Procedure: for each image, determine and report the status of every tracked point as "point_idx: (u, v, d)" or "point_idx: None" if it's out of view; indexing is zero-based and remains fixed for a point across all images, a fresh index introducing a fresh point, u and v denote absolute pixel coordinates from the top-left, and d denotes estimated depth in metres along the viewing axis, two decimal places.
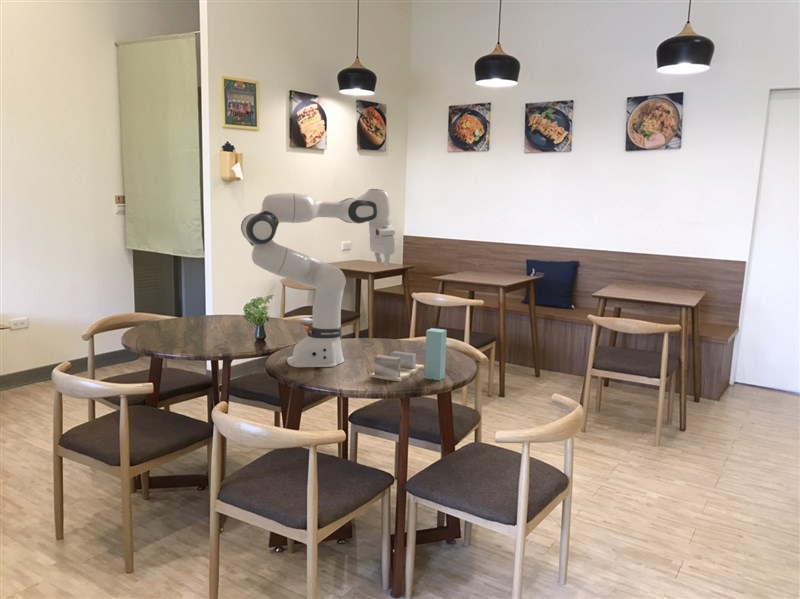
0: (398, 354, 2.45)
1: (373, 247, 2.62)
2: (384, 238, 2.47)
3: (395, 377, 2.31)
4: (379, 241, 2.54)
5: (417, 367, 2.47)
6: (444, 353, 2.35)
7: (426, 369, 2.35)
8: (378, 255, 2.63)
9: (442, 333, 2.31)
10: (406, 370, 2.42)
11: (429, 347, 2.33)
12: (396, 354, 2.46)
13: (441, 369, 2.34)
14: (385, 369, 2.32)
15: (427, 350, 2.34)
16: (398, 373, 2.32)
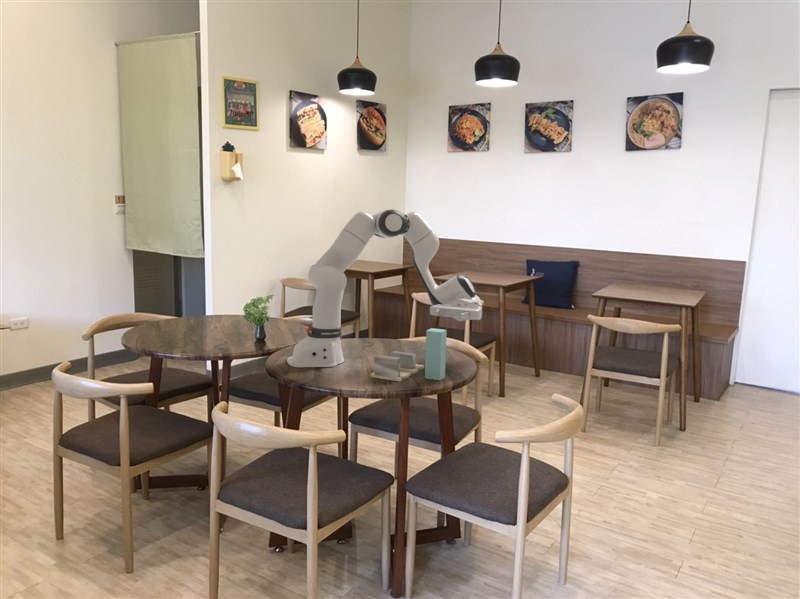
0: (398, 354, 2.45)
1: (441, 306, 2.52)
2: None
3: (395, 377, 2.31)
4: (463, 308, 2.51)
5: (417, 367, 2.47)
6: (444, 353, 2.35)
7: (426, 369, 2.35)
8: None
9: (442, 333, 2.31)
10: (406, 370, 2.42)
11: (429, 347, 2.33)
12: (396, 354, 2.46)
13: (441, 369, 2.34)
14: (385, 369, 2.32)
15: (427, 349, 2.34)
16: (398, 373, 2.32)
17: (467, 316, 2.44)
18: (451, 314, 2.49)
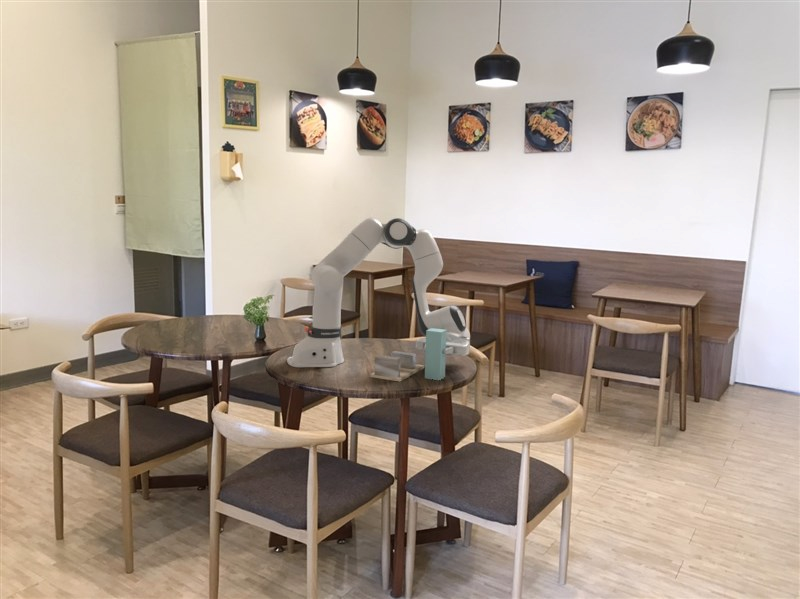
0: (398, 354, 2.45)
1: None
2: None
3: (395, 377, 2.31)
4: (450, 342, 2.41)
5: (417, 367, 2.47)
6: None
7: (426, 369, 2.35)
8: None
9: (442, 333, 2.31)
10: (406, 370, 2.42)
11: (429, 347, 2.33)
12: (396, 354, 2.46)
13: (441, 369, 2.34)
14: (385, 369, 2.32)
15: (427, 349, 2.34)
16: (398, 373, 2.32)
17: (451, 351, 2.35)
18: None
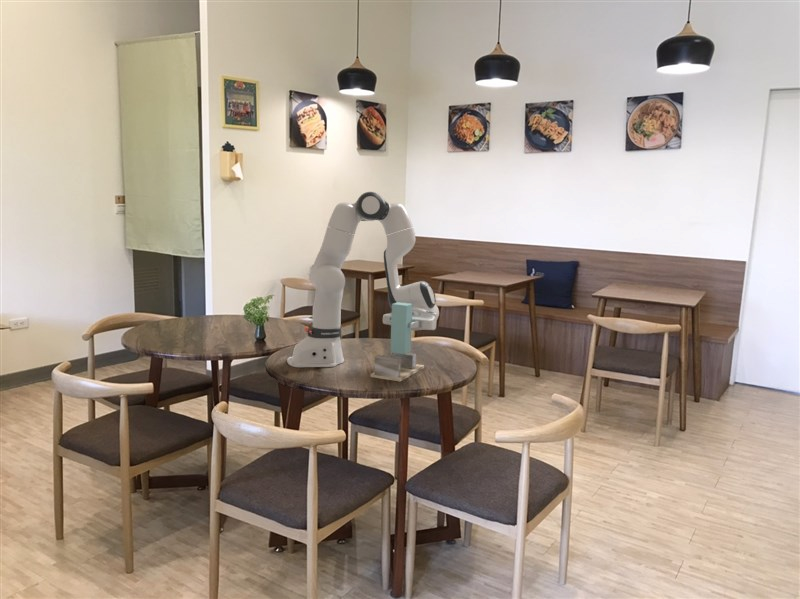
0: (398, 354, 2.45)
1: None
2: None
3: (395, 377, 2.31)
4: (416, 317, 2.42)
5: (417, 367, 2.47)
6: None
7: (392, 343, 2.35)
8: None
9: (408, 306, 2.32)
10: (406, 370, 2.42)
11: (394, 321, 2.33)
12: (396, 354, 2.46)
13: (406, 343, 2.34)
14: (385, 369, 2.32)
15: (393, 323, 2.34)
16: (398, 373, 2.32)
17: (417, 325, 2.35)
18: None
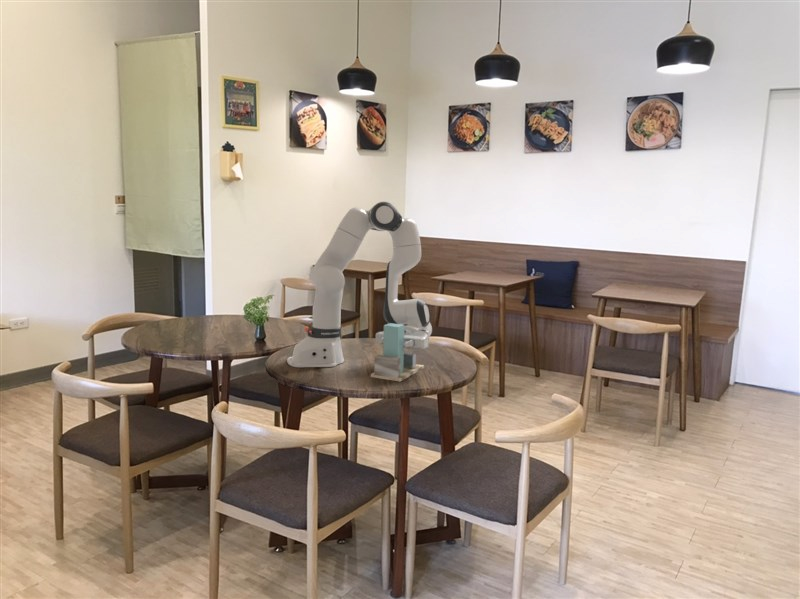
0: None
1: None
2: None
3: (395, 377, 2.31)
4: (409, 335, 2.43)
5: (417, 367, 2.47)
6: (402, 348, 2.38)
7: None
8: None
9: (399, 328, 2.34)
10: (406, 370, 2.42)
11: (386, 342, 2.35)
12: None
13: None
14: (385, 369, 2.32)
15: (385, 344, 2.36)
16: (398, 373, 2.32)
17: (411, 344, 2.37)
18: None
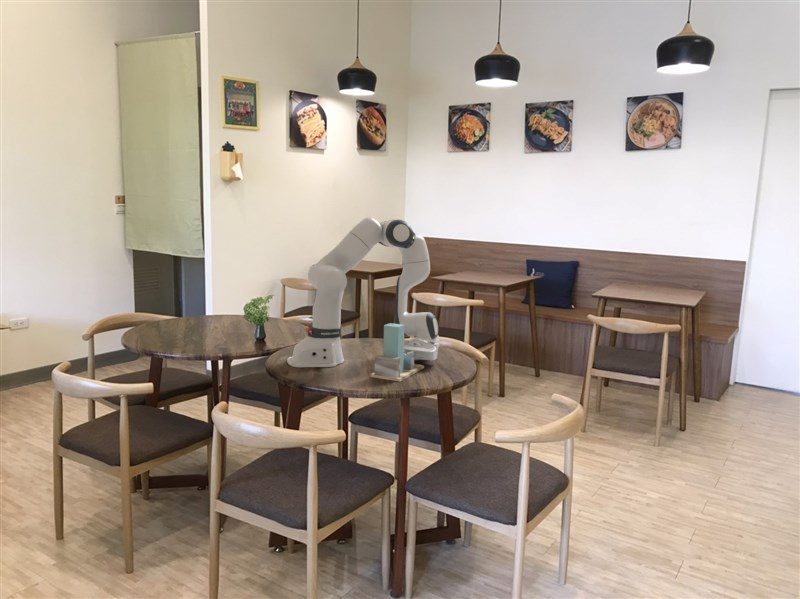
0: None
1: None
2: None
3: (395, 377, 2.31)
4: (419, 347, 2.53)
5: (417, 367, 2.47)
6: (402, 348, 2.38)
7: None
8: None
9: (400, 328, 2.34)
10: (406, 370, 2.42)
11: (386, 342, 2.35)
12: None
13: None
14: (385, 369, 2.32)
15: (385, 344, 2.36)
16: (398, 373, 2.32)
17: None
18: None
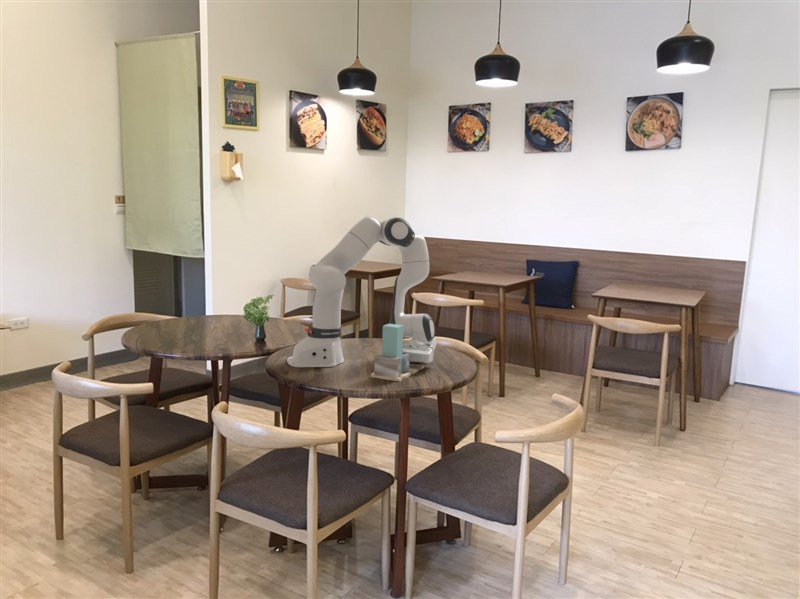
0: None
1: None
2: None
3: (395, 377, 2.31)
4: (414, 349, 2.49)
5: (417, 367, 2.47)
6: (401, 349, 2.37)
7: None
8: None
9: (398, 328, 2.33)
10: None
11: (385, 342, 2.34)
12: None
13: None
14: (385, 369, 2.32)
15: (384, 345, 2.35)
16: (398, 373, 2.32)
17: None
18: None
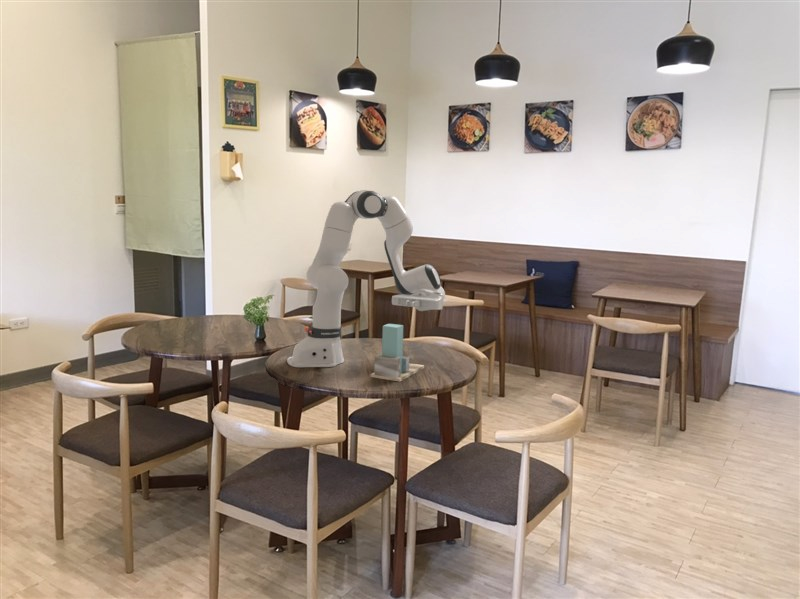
0: None
1: (403, 296, 2.54)
2: None
3: (395, 377, 2.31)
4: (424, 297, 2.54)
5: (417, 367, 2.47)
6: (401, 349, 2.37)
7: None
8: None
9: (398, 328, 2.33)
10: None
11: (385, 342, 2.34)
12: None
13: None
14: (385, 369, 2.32)
15: (384, 345, 2.35)
16: (398, 373, 2.32)
17: (417, 305, 2.48)
18: None
